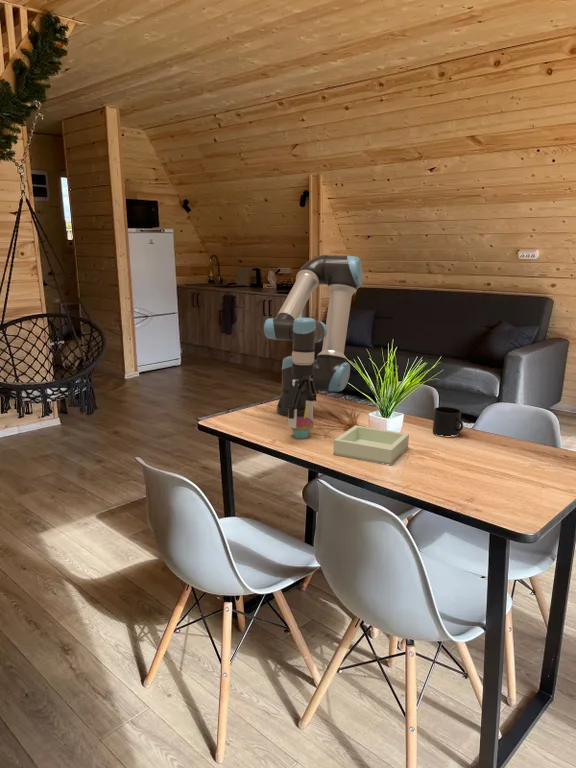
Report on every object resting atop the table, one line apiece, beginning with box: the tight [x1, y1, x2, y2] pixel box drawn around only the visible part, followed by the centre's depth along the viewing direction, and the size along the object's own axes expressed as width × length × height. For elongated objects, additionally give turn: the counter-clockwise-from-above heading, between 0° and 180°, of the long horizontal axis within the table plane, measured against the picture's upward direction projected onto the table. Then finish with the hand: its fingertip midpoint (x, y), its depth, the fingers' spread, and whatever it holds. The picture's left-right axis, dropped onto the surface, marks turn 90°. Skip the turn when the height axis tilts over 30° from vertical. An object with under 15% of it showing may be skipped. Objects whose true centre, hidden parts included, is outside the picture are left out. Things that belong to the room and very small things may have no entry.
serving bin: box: [333, 424, 410, 466], centre depth 200 cm, size 19×19×5 cm
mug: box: [432, 406, 464, 436], centre depth 220 cm, size 9×12×9 cm
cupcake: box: [289, 404, 314, 439], centre depth 213 cm, size 9×8×12 cm
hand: (300, 422), depth 212 cm, fingers open, 13 cm apart
